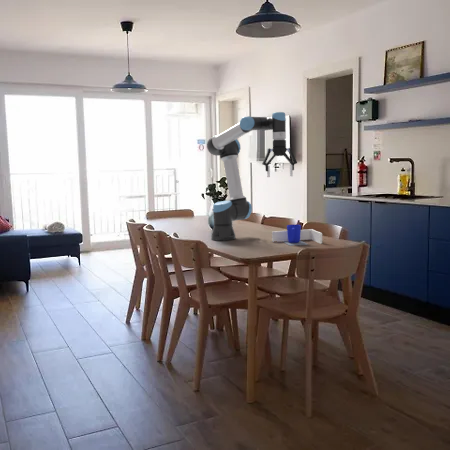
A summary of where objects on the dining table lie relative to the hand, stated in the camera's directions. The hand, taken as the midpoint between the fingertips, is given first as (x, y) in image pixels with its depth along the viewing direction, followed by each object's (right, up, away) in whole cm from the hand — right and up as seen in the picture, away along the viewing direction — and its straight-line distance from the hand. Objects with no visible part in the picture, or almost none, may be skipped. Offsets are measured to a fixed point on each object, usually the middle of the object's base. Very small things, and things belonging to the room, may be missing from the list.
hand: (279, 176), depth 306 cm
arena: (+10, -38, +4) cm, 40 cm away
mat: (+9, -39, +2) cm, 40 cm away
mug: (+8, -39, +1) cm, 40 cm away
